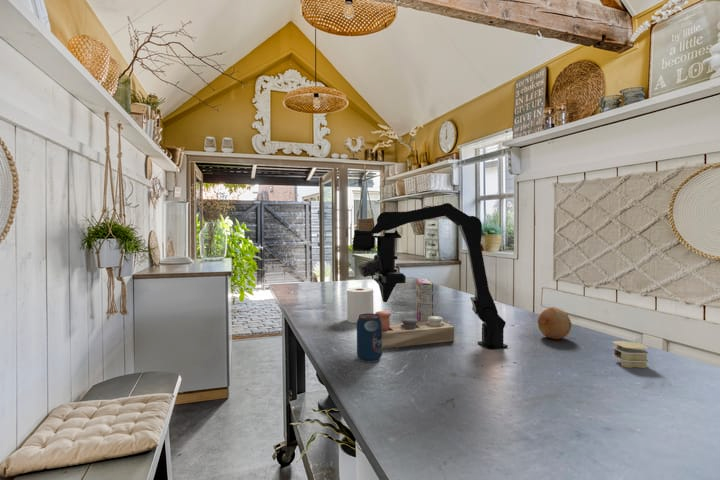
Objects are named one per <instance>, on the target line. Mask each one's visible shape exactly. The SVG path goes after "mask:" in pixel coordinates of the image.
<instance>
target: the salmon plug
mask: <svg viewBox="0 0 720 480" xmlns="http://www.w3.org/2000/svg"><path fill="white" fill-rule="evenodd" d="M374 314H378V315H379V316H380V317H379V318H380V320H381V322H382V331H390V324H391V323H390V318H391V317H390V316H391V315H392V312H391V311H386V310H383V311H382V310H381V311H376V312H375V313H374Z"/></svg>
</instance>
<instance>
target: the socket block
mask: <svg viewBox="0 0 720 480" xmlns="http://www.w3.org/2000/svg"><path fill="white" fill-rule="evenodd" d="M454 341H455V326H453V325H451V324H449V323H448V322H445V321H443V320H442V321H441V326H430V325H429V320H427V321H417V323H416V328H411V329H405V328H403V322H397V323H395V322H394V323H390V331H382V350H383V349H389V348H391V349H392V348H400V347H410V346H417V345H419V346H420V345H427V344H437V343H447V342H454Z"/></svg>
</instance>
